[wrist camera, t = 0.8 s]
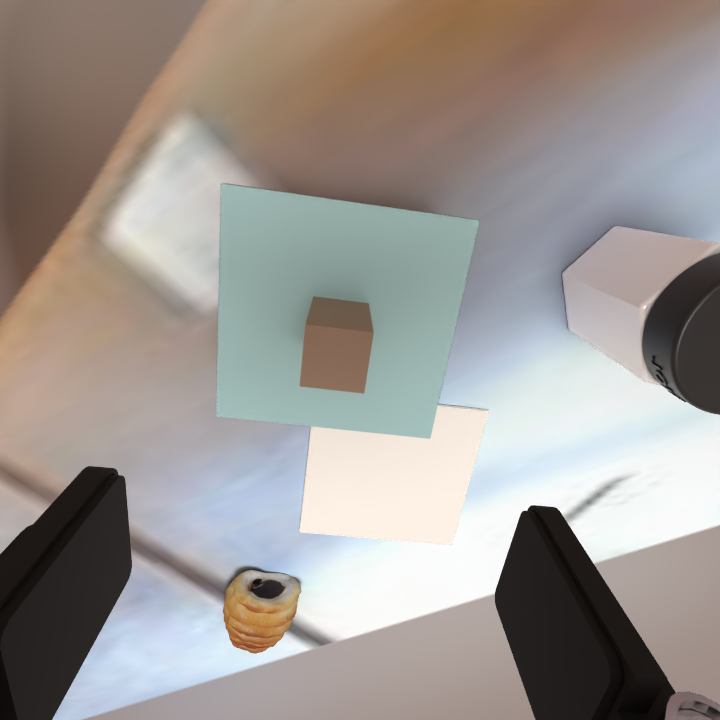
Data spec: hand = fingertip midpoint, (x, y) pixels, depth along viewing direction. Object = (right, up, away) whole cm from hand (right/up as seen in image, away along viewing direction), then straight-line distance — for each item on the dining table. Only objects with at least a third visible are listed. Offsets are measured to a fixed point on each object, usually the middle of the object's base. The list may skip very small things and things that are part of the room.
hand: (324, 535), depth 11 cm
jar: (+20, +10, +22) cm, 31 cm away
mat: (+3, -5, +27) cm, 28 cm away
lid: (0, +7, +16) cm, 18 cm away
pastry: (-9, -19, +33) cm, 39 cm away
